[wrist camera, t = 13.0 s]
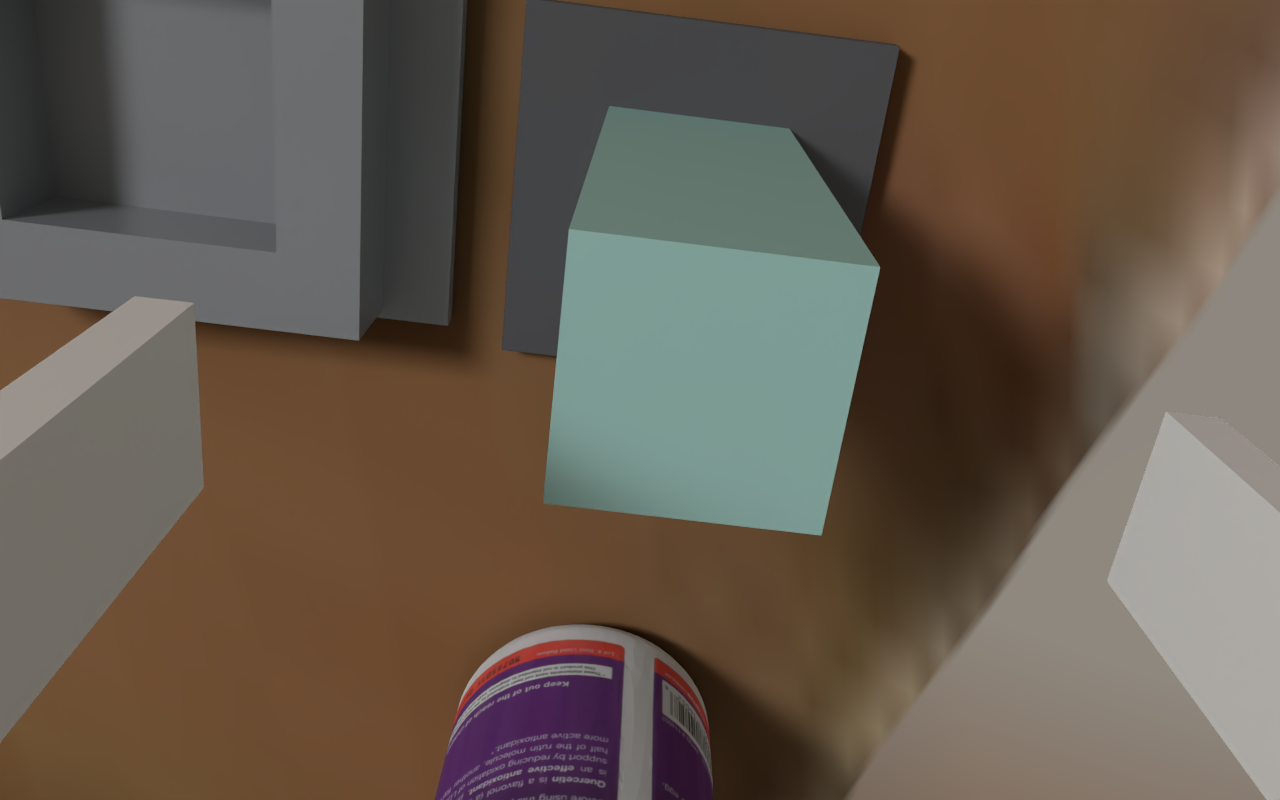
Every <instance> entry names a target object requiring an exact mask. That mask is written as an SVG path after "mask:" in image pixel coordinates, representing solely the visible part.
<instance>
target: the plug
mask: <svg viewBox="0 0 1280 800" xmlns="http://www.w3.org/2000/svg"><path fill="white" fill-rule="evenodd" d="M879 271H880V266H879V264H878V263H877V261H876V260H875V258H874V257H873V255H872V254H871V252H870V251H869V249H868V248H867V246H866V245H865V243H864V241H863V240H862V238H861V237H860V235H859V234H858V232H857V231H856V229H855V228H854V226H853V225H852V223H851V222H850V220H849V219H848V217H847V216H846V214H845V212H844V211H843V209H842V208H841V206H840V205H839V203H838V202H837V200H836V199H835V197H834V196H833V194H832V193H831V191H830V190H829V188H828V187H827V185H826V184H825V182H824V180H823V179H822V177H821V176H820V174H819V173H818V171H817V170H816V168H815V167H814V165H813V164H812V162H811V161H810V159H809V158H808V156H807V155H806V153H805V151H804V150H803V148H802V147H801V145H800V144H799V142H798V141H797V139H796V138H795V136H794V135H793V133H792V132H791V130H790V129H788V128H780V127H772V126H764V125H756V124H749V123H741V122H733V121H725V120H717V119H709V118H701V117H693V116H685V115H677V114H669V113H661V112H653V111H646V110H638V109H630V108H622V107H614V106H609V108H608V111H607V114H606V117H605V120H604V123H603V127H602V130H601V133H600V136H599V139H598V142H597V145H596V148H595V151H594V154H593V157H592V160H591V163H590V166H589V169H588V172H587V175H586V178H585V181H584V184H583V187H582V191H581V194H580V197H579V200H578V203H577V206H576V209H575V212H574V215H573V218H572V221H571V224H570V227H569V233H568V244H567V254H566V265H565V275H564V286H563V297H562V307H561V318H560V328H559V339H558V350H557V360H556V371H555V381H554V392H553V403H552V413H551V424H550V434H549V445H548V455H547V466H546V477H545V487H544V498H543V503H544V504H553V505H561V506H570V507H579V508H588V509H596V510H605V511H614V512H622V513H631V514H640V515H648V516H657V517H666V518H674V519H683V520H692V521H700V522H709V523H718V524H726V525H735V526H744V527H752V528H761V529H770V530H779V531H787V532H796V533H805V534H813V535H822V531H823V526H824V522H825V517H826V512H827V508H828V503H829V499H830V494H831V490H832V485H833V481H834V476H835V471H836V467H837V462H838V458H839V453H840V449H841V444H842V440H843V435H844V431H845V426H846V421H847V417H848V412H849V408H850V403H851V399H852V394H853V390H854V385H855V380H856V376H857V371H858V367H859V362H860V358H861V353H862V349H863V344H864V339H865V335H866V330H867V326H868V321H869V317H870V312H871V308H872V303H873V298H874V294H875V289H876V285H877V280H878V276H879Z"/></svg>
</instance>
